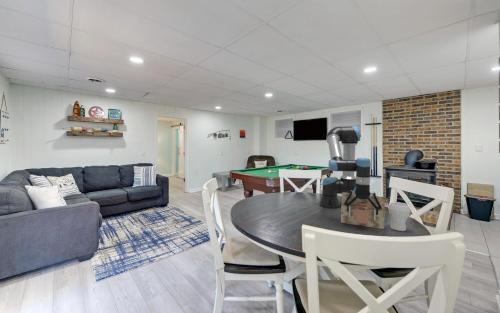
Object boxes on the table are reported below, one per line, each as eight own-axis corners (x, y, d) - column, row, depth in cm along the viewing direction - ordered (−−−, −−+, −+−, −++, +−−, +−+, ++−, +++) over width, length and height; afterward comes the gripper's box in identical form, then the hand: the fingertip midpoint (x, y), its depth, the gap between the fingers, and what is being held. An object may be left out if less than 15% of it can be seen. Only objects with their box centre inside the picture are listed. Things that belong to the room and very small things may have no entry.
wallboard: (340, 222, 140) (341, 193, 138) (341, 220, 144) (342, 192, 143) (383, 229, 128) (385, 198, 127) (383, 226, 133) (384, 196, 131)
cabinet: (356, 222, 129) (356, 207, 128) (356, 216, 138) (356, 202, 137) (367, 224, 126) (367, 209, 125) (367, 217, 135) (367, 203, 134)
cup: (400, 224, 135) (401, 201, 134) (413, 232, 124) (414, 206, 123) (383, 225, 135) (384, 201, 134) (395, 232, 124) (396, 207, 123)
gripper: (339, 183, 131) (339, 216, 133) (387, 186, 119) (386, 223, 121) (340, 181, 138) (340, 213, 139) (386, 184, 126) (385, 219, 127)
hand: (361, 218), depth 130 cm, fingers open, 13 cm apart
